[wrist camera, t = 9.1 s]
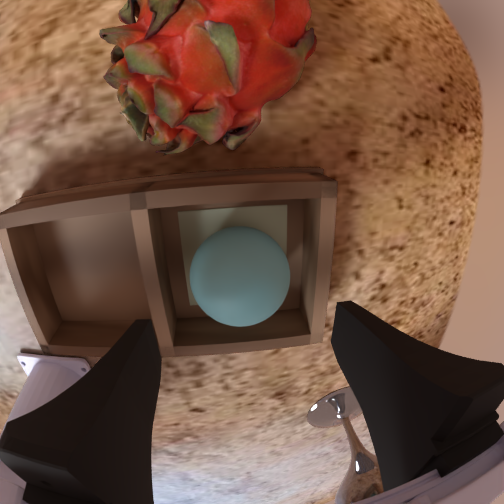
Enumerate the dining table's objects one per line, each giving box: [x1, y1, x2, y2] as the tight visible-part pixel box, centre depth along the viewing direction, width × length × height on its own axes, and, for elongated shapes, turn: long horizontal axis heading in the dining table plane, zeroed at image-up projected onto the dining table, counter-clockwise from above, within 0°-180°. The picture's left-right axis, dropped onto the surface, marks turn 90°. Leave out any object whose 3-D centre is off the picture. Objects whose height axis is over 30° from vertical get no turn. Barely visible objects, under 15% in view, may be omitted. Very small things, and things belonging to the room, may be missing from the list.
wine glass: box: [307, 387, 384, 504], centre depth 19 cm, size 8×8×15 cm
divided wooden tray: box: [0, 167, 338, 357], centre depth 16 cm, size 10×19×3 cm, turn 92°
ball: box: [190, 226, 290, 327], centre depth 15 cm, size 5×5×5 cm
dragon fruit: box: [99, 0, 317, 155], centre depth 10 cm, size 8×8×12 cm
